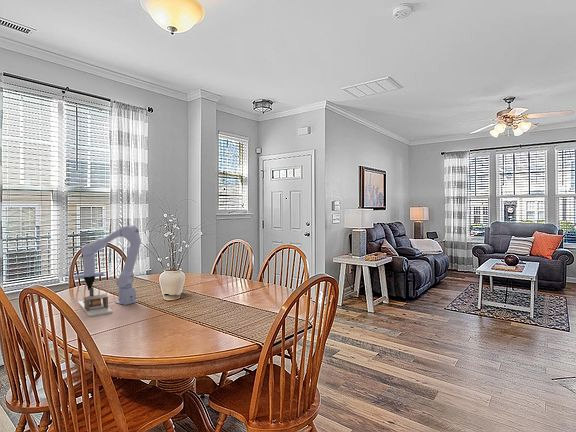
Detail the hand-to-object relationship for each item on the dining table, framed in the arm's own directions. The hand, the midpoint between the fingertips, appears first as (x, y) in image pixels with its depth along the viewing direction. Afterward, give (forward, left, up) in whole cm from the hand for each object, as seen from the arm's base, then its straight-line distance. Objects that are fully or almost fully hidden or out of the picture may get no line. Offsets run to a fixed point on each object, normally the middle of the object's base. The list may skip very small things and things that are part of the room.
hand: (89, 289), depth 207 cm
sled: (-12, +4, -6) cm, 14 cm away
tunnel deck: (-12, +4, -7) cm, 15 cm away
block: (-17, +6, -6) cm, 19 cm away
